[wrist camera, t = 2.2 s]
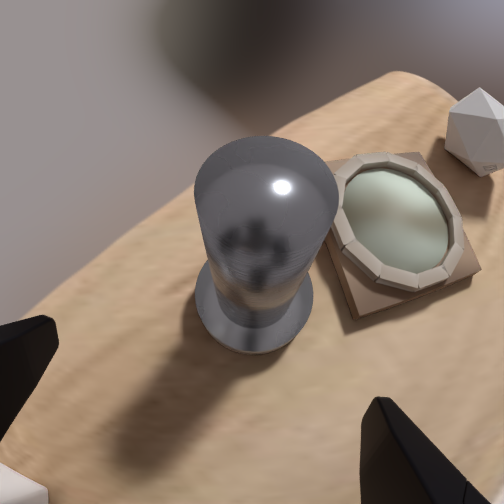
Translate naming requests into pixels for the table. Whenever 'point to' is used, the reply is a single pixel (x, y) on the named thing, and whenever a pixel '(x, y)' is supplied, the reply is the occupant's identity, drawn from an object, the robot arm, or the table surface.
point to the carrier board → (394, 232)
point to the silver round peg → (260, 240)
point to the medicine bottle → (20, 488)
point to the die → (477, 133)
